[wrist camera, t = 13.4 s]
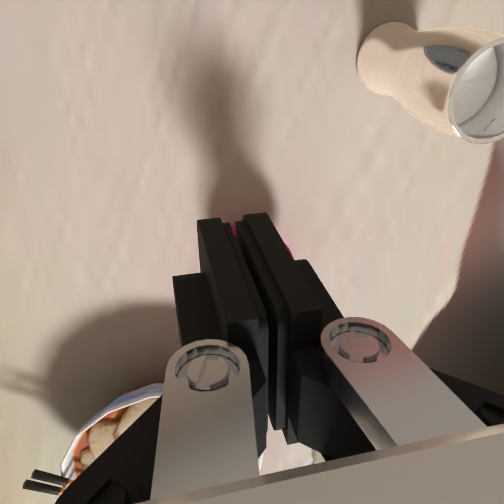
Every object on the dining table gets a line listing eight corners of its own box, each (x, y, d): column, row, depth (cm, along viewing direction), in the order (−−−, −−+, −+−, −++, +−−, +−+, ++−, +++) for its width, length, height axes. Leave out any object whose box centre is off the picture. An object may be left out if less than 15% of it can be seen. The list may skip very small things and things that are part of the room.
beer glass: (416, 2, 40) (546, 13, 27) (428, 79, 44) (547, 121, 31) (343, 36, 40) (438, 62, 28) (361, 110, 44) (452, 164, 31)
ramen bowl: (293, 390, 61) (313, 442, 55) (189, 492, 67) (195, 550, 61) (130, 310, 50) (130, 363, 43) (21, 441, 56) (5, 507, 49)
